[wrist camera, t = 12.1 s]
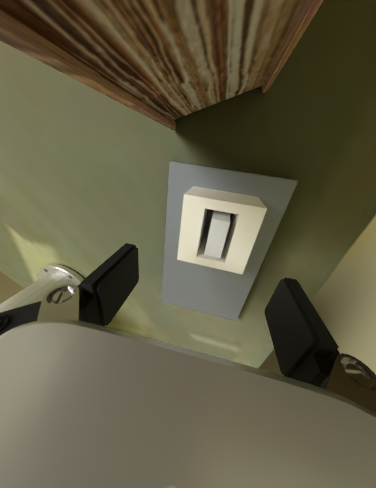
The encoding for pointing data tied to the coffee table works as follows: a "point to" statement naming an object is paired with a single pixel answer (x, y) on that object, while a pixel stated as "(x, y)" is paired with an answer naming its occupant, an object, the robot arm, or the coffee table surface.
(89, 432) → the robot arm
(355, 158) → the coffee table surface
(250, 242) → the collar
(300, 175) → the coffee table surface
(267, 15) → the book
